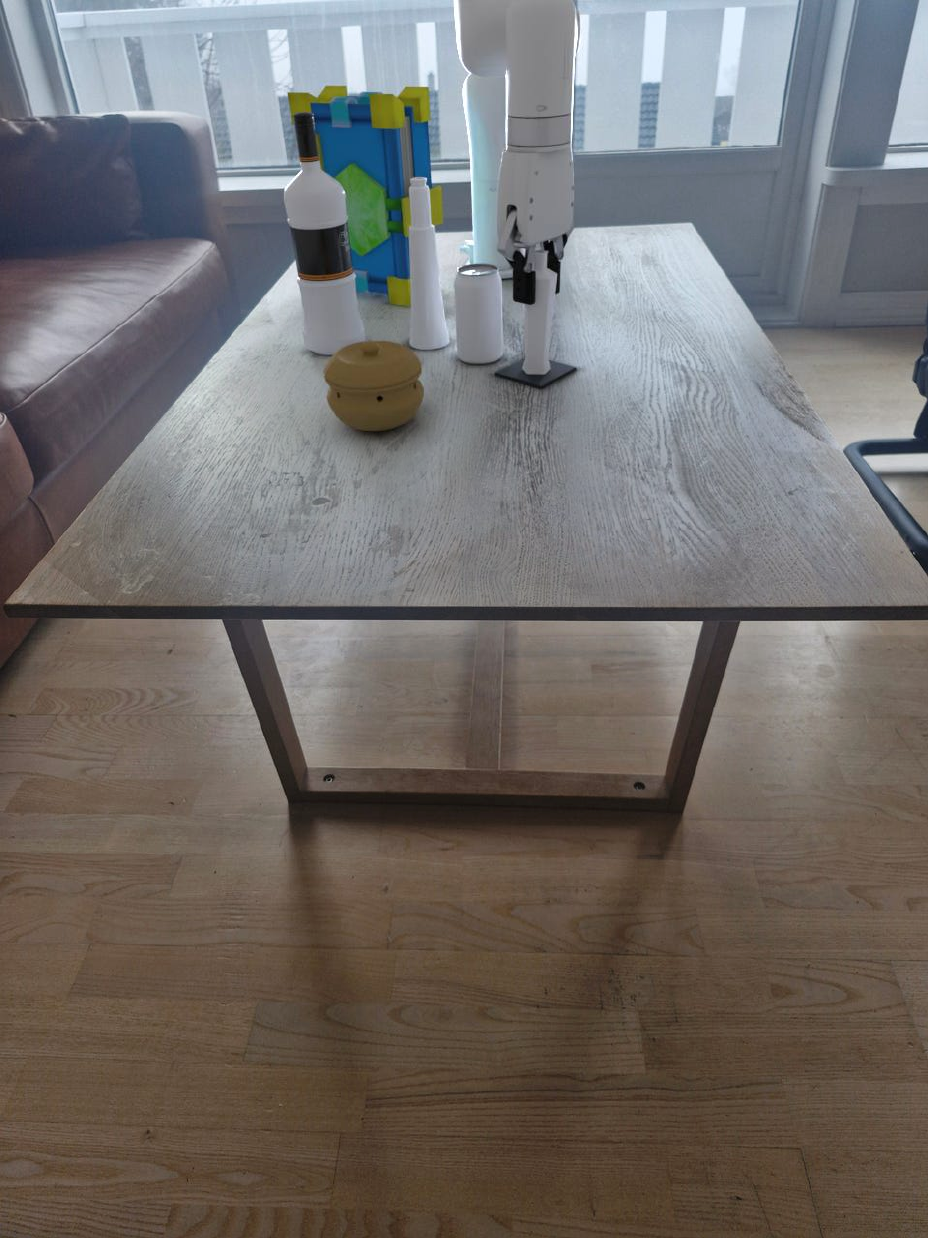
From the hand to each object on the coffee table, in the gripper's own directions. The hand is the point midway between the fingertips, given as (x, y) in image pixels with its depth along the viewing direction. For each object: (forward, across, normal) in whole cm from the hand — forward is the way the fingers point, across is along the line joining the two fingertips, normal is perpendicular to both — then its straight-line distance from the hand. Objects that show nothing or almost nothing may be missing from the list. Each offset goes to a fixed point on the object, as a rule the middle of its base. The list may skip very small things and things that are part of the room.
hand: (536, 295), depth 102 cm
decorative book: (+10, -14, -46) cm, 49 cm away
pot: (+10, +24, -6) cm, 27 cm away
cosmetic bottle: (+10, 0, -20) cm, 23 cm away
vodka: (+10, +9, -31) cm, 34 cm away
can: (+10, 0, -10) cm, 14 cm away
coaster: (+10, 0, 0) cm, 10 cm away
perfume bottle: (+10, 0, 0) cm, 10 cm away
